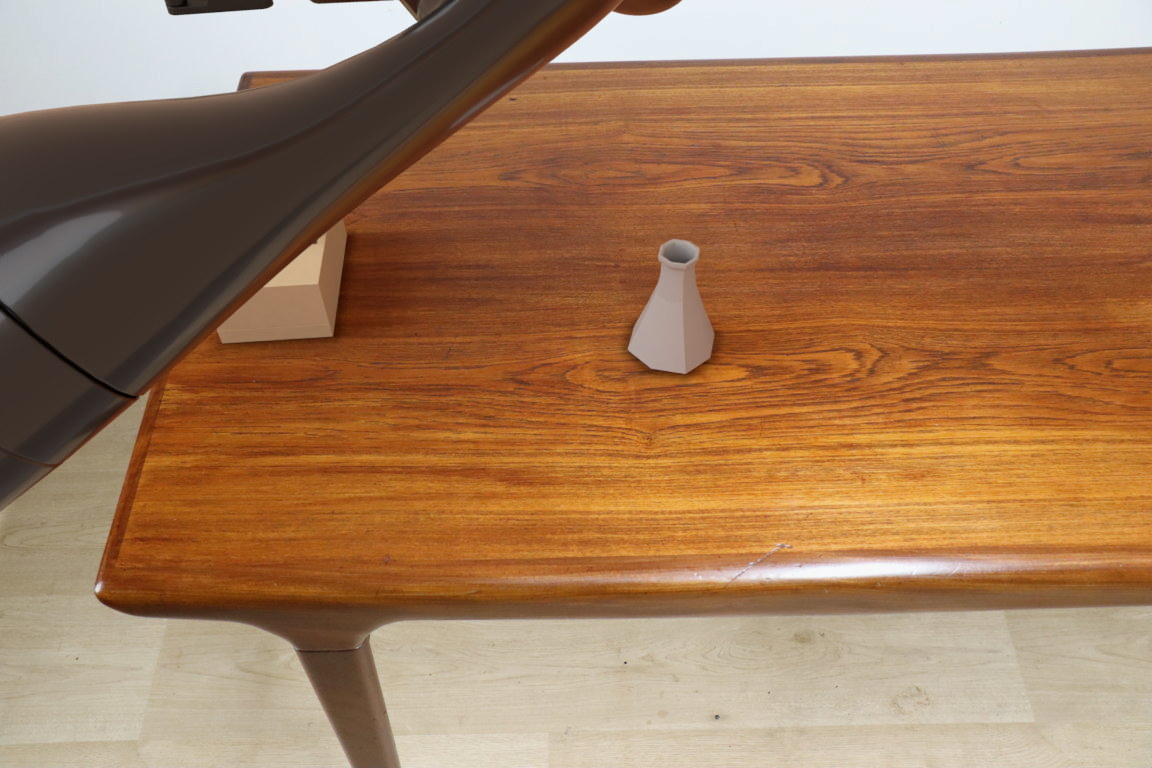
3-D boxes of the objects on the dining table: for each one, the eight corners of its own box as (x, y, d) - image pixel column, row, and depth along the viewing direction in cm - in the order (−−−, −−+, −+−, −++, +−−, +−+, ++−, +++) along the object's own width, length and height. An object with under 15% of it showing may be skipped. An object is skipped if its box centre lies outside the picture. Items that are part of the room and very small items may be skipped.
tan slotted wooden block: (333, 336, 81) (318, 283, 77) (222, 343, 81) (200, 290, 76) (347, 229, 91) (335, 176, 87) (249, 234, 91) (232, 182, 87)
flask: (690, 387, 77) (700, 294, 69) (612, 354, 79) (615, 262, 72) (728, 334, 81) (742, 241, 74) (653, 304, 84) (660, 212, 76)
